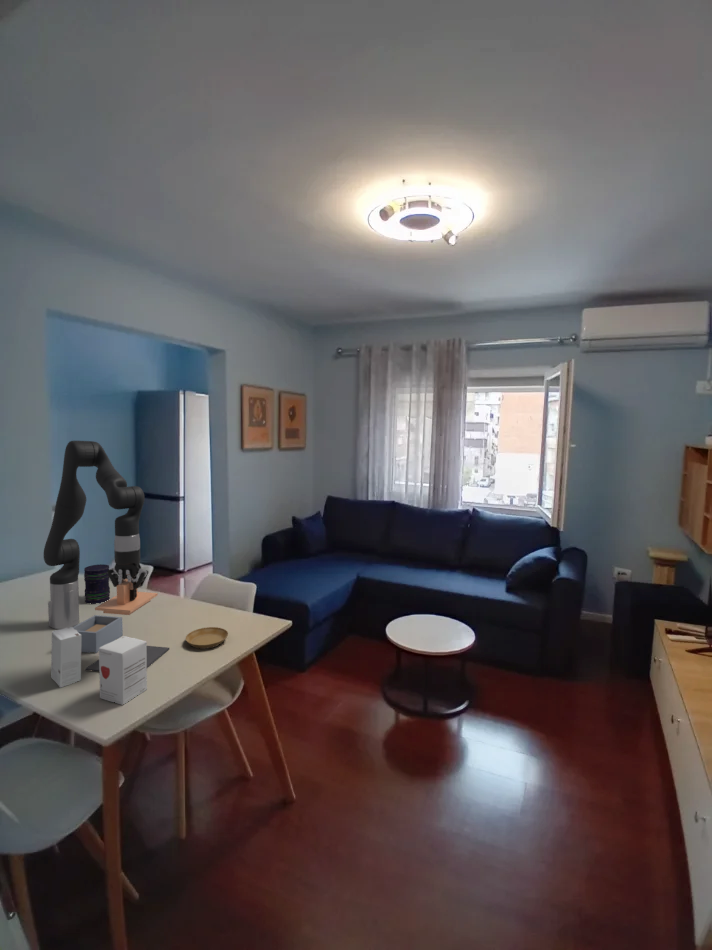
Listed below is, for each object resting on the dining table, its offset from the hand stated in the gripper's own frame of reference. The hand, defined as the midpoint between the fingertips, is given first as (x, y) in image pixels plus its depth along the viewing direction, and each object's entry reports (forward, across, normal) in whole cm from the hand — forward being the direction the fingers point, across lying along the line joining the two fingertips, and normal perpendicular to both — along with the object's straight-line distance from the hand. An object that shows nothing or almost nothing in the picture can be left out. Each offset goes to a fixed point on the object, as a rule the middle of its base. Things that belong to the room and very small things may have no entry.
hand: (128, 599), depth 151 cm
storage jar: (+21, -47, +47) cm, 70 cm away
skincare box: (+21, -10, -15) cm, 27 cm away
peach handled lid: (+2, 0, 0) cm, 2 cm away
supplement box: (+21, +11, -19) cm, 30 cm away
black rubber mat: (+20, 0, 0) cm, 20 cm away
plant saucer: (+21, +19, +17) cm, 33 cm away
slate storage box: (+20, -19, +9) cm, 29 cm away
